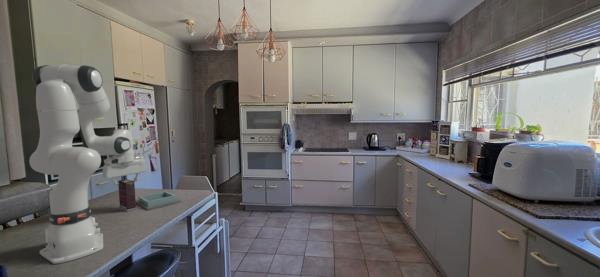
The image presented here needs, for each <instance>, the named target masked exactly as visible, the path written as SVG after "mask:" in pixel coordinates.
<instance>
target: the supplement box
mask: <svg viewBox="0 0 600 277" xmlns="http://www.w3.org/2000/svg"><path fill="white" fill-rule="evenodd" d="M118 182H119V185H117V186H118V198H119V209H120V210H122V211H126V212H129V211H133V210H136V209H137V206H136V205H137V204H136V201H135V200H136V189H135V181H134V180H132V179H127V178H126V179H120V180H118Z"/></svg>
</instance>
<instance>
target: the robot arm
mask: <svg viewBox="0 0 600 277" xmlns="http://www.w3.org/2000/svg"><path fill="white" fill-rule="evenodd" d="M31 80H32V82H33V85H34V86H35V87H36V89H35V90H36V91H35V92H36V93H35V103H36V104H35V105H36V106H35V107H36V111H37V117H38V118H37V119H38V125H39V139H38V144H37V148H36V149H35V151H34V152H33V153H31V155H30V157H29V161H28V162H29V166H30V168H31V169H32V170H34V171H35V172H38V173H41V174H44V175H50V176H51V175H52V176H58V180H57V183H56V185H55V187H54V188H53V189H51V191H50V192H49V195H48V196H49V207H50V213H49V217H48V218H49V223H50V225H49V226H48V227H47V228H46V229H45V230H44V231H45V232H44V234H45V248H42V249H41V250H39V255H41V257H43V258H44V259H46V260H48V261H49V262H50V263H52V264H53V265H54V264H63V263H67V262H70V261H74V260H77V259H80V258H84V257H87V256H89V255H92V254H95V253H97V252H99V251H101V250H103V249H104V234H103V233H101V227H98V226H99V224H98V222H96V218H95V217H93V216H92V210H91V206H90V205H89V193H88V192H89V190H88V189H89V184H90V180H91V178H92V176H93V174H94V173H95V172H96V171H98V169H99V168H100V166H101V163H102V158H101V156H110V157H108V158H106V159H103V163H104V165H103V166H102V177H103V178H104V179H106V180H108V179H111V181H112V182H113V183H114V186H118V185H119V182H118V181H119V180H118V181H117V180H116V179H117V178H119V177H124V176H130V175H135V177H133V181H134V182H138V181H139V177H140V175H141V173H145V172H146V171H147V165H146V159H145V157H144V156H142V155H140V156H135V151H134V148H133V146H134V141H133V140H134V139H133V134H132V131H131V130H130V129H127V128H116V129H114V130H113V132H112V133H113V134H111V135H108V136H107V135H105V136H99V135H96V133H95V130H94V126H93V121H95V120H97V119H100V118H103V116H105V115H107V113H108V112H109V111H110V109H111V104H110V100H109V98H108V95H107V93H106V91H105V89H104V88H103V83H104V82H103V76H102V74H101V73H100V71H99V70H98V69H96V68H95V67H94V66H91V65H85V64H84V65H76V64H75V65H73V64H65V63H64V64H53V65H48V64H45V65H39V66H37V67H35V68H34V70H33V71H32V73H31ZM76 102H77V103H76ZM77 104H78V107H77ZM78 133H80V138H81V140H82V146H73V139H74V137H75V135H77V134H78ZM96 227H97V228H96Z"/></svg>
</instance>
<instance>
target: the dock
mask: <svg viewBox="0 0 600 277" xmlns="http://www.w3.org/2000/svg"><path fill="white" fill-rule="evenodd" d="M135 201H136V205H138V206H140V207H141V208H143V209H144V210H146V211H152V210H156V209H159V208H163V207H164V208H165V207H167V206H172V205H176V204H178V203H179V204H180V203H182V200H181V199H180V198H177V195H176V194H174V193H171V192H169V191H166V190H165V191H160V192H154V193H150V194H146V195H141V196H138V199H135Z"/></svg>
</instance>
